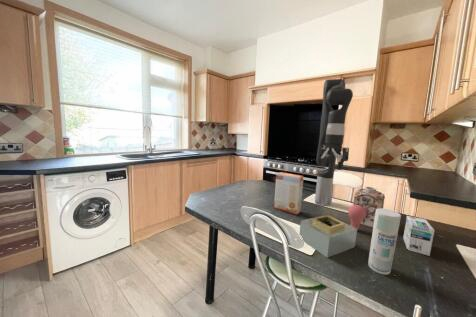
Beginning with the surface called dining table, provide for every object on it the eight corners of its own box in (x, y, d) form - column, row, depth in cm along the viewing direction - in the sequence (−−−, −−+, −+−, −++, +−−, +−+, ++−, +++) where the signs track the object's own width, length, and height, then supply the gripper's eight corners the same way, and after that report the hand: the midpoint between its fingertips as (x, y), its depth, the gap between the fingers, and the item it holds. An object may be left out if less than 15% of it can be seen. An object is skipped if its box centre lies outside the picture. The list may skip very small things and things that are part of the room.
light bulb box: (430, 256, 73) (435, 230, 72) (407, 250, 77) (411, 224, 75) (422, 243, 82) (427, 219, 81) (402, 238, 86) (406, 215, 84)
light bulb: (361, 227, 94) (364, 203, 92) (365, 234, 87) (369, 209, 86) (344, 224, 96) (347, 201, 95) (347, 231, 90) (350, 206, 88)
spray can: (369, 271, 65) (378, 214, 62) (365, 259, 70) (373, 206, 67) (393, 277, 62) (404, 218, 59) (387, 264, 68) (397, 210, 65)
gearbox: (325, 230, 90) (327, 211, 89) (354, 247, 78) (357, 225, 76) (299, 238, 83) (301, 217, 81) (327, 257, 71) (329, 233, 69)
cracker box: (300, 211, 110) (304, 175, 106) (296, 215, 105) (299, 177, 102) (278, 205, 118) (280, 171, 115) (273, 208, 114) (275, 173, 111)
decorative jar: (381, 221, 101) (386, 188, 98) (377, 229, 93) (383, 193, 90) (355, 214, 109) (359, 183, 106) (349, 221, 101) (354, 187, 98)
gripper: (355, 134, 86) (350, 170, 88) (327, 133, 98) (324, 164, 101) (343, 134, 82) (339, 171, 85) (316, 133, 95) (313, 165, 97)
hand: (331, 167), depth 93 cm, fingers open, 8 cm apart
